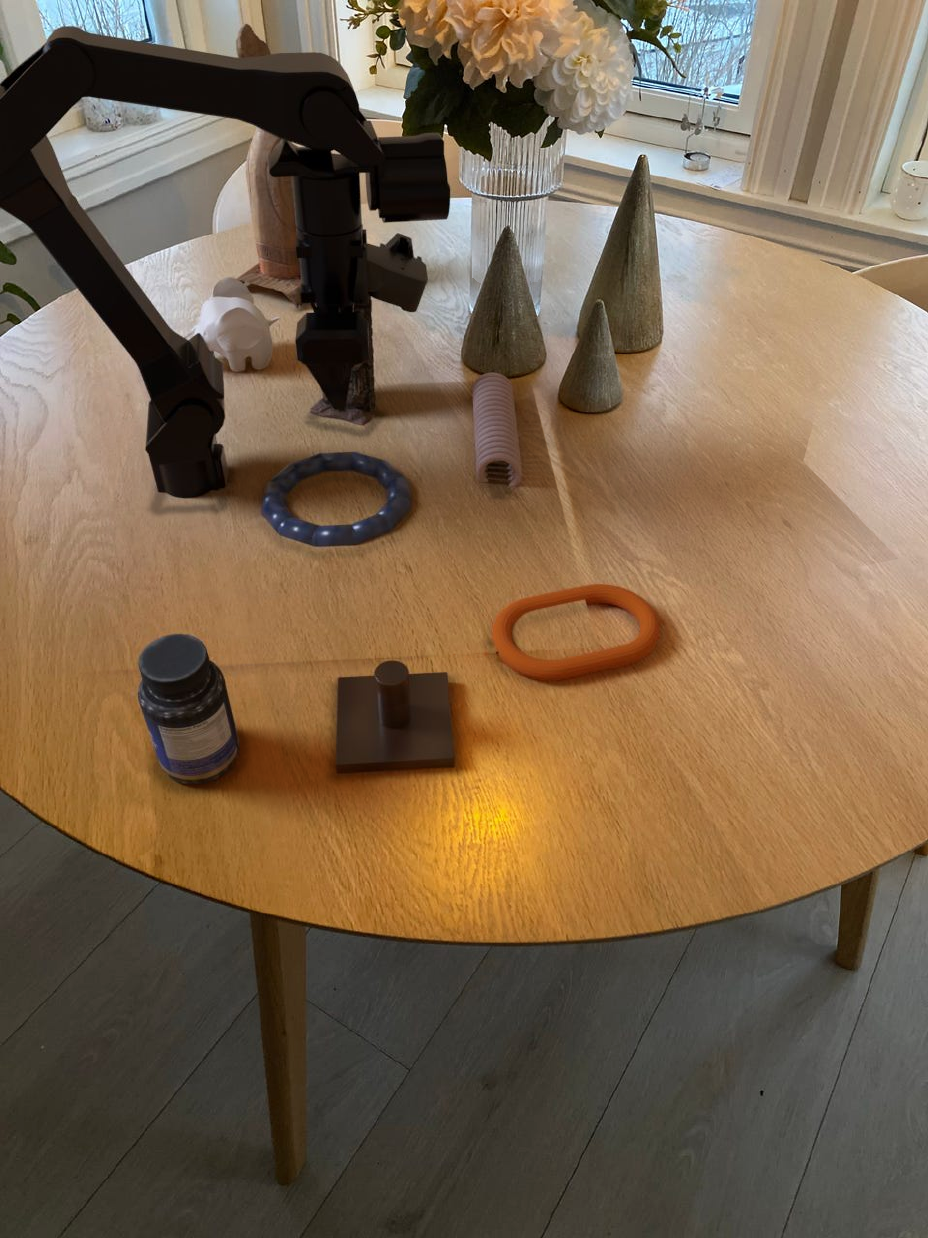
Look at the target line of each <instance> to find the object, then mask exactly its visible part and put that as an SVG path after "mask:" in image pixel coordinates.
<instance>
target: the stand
mask: <svg viewBox="0 0 928 1238" xmlns="http://www.w3.org/2000/svg"><path fill="white" fill-rule="evenodd" d="M373 674H374V675H359V676H339V677H337V692H336V693H337V695H336V696H337V698H336V699H337V702H336V736H335V737H336V738H335V740H336V741H335V769H336V774H337V775H341V774H357V773H376V772H377V773H379V772H393V771H394V772H395V771H411V770H412V771H413V770H431V769H447V768H448V769H449V768H451V769H452V768H455V767H456V756H455V755H456V753H455V743H454V742H455V741H454V732H453V721H452V710H451V699H450V698H451V697H450V687H449V677H448V675H449V674H448V671H442V672H421V673H410V672H409V668H408V666H407V665H406V664H405V663H404V662H402V661H399V660H392V659H391V660H385V661H383V662H381V663H379V664H378V665H377V666H376V668H375V669H374V672H373Z"/></svg>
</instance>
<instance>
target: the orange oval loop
mask: <svg viewBox="0 0 928 1238" xmlns="http://www.w3.org/2000/svg"><path fill="white" fill-rule="evenodd" d="M583 600H585V605H591V604H607V605H613V606H616V607H619V608H621V609H623V610H625V611H626V612H628V613H630V614H631V615H632V616H633V617H634V618H635V619H636V621H637V623H638V625H639V632H638V635H637V636H636V638H635V639H633V640H631V641H630V642H628V643H624V644H621V645H618V646H613V647H609V648H605V649H599V650H596V651H591V652H586V653H582V654H578V655H573V656H569V657H568V656H567V657H564V658H563V657H562V658H558V659H557V658H556V659H543V658H538V657H534V656H531V655H529V654H527V653H525V652H523V651H522V650H520V649H519V648H518V647H517V646H516V644H515V643H514V642H513V639H512V636H511V635H512V634H511V632H512V631H511V630H512V627H513V624H514V623H515V622H516V620H517V619H518V618H519V617H521V616H522V615H524V614H526V613H529V612H532V611H536V610H541V609H546V608H549V607H554V606H558V605H563V604H568V603H574V602H578V601H583ZM660 631H661V629H660V621H659V618H658V615H657V613H656V612H655V609H653V607H652V606H651V605H650V604H649V602H648V601H647V600H645V599H644V598H643V597H642V596H640V595H639V594H637V593H635V592H634V591H632V590H629V589H627V588H625V587H621V586H618V585H613V584H607V583H606V584H605V583H593V584H586V585H581V586H576V587H570V588H566V589H561V590H556V591H550V592H547V593H541V594H537V595H536V594H535V595H532V596H528V597H523V598H520V599H518V600H515V601H513V602H511V603H510V604H508V605H507V606H506V607H504V608H503V609H502V610H501V611H500V612H499V613H498V615H497V616H496V617H495V619H494V622H493V625H492V628H491V637H492V642H493V645H494V646H495V648H496V651H495V654H496V655H497V657H498V658H499V659H500V661H502V662H503V664H505V665H506V666H507V667H508V668H510V669H511V670H512V671H514V672H516V673H517V674H520V675H522V676H525V677H527V678H531V679H534V680H538V681H539V680H540V681H561V680H566V679H571V678H576V677H581V676H584V675H588V674H594V673H599V672H602V671H606V670H611V669H616V668H619V667H623V666H627V665H631V664H634V663H636V662H638V661H640V660H642V659H644V658H645V657H647V656H648V655H649V654H651V652H652V651H653V650H654V648H655V647H656V645H657V643H658V641H659V638H660V634H661V633H660Z"/></svg>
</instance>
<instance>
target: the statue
mask: <svg viewBox="0 0 928 1238" xmlns="http://www.w3.org/2000/svg"><path fill="white" fill-rule="evenodd" d="M368 297H369V305H358V306H357V307H356V308H355V309H354V312H358V313H359V314H360V315H361V316H362V317H363V318H364V319H366V320H367V321H368V330H369V360H367V361H365V362H364V363H362V364H357V365H356V366H354V367H353V369H352V373H351V379H350V385H349V391H348V397H347V403H346V408H345V409H344V410H335V409H333V407H332V405H331V404H330V402H329V400H328V399H327V397H326V396H325V394H324V392H323V391H322V389H321V388H320V390H321V393H322V397H321V398H320V399H319V400H318V401H317V402H316V403H315V404H314V405H312V407H311V408H309V411H308V412H309V413H310V414H311V415H314V416H318V417H322V418H325V419H334V420H340V421H344V422H348V423H352V424H354V425H357V426H364V425H365V424H366V423H367V421H368V420H369V419H370V418H371V416H372V415H373V414H374V412H376V411H377V410H376V409H378V404H377V402H376V401H377V396H376V392H375V390H376V389H375V383H376V382H375V381H376V380H375V365H374V363H375V358H374V353H375V351H374V345H373V343H374V342H373V341H374V339H373V335H374V333H373V332H374V331H373V330H374V329H373V317H372V311H373V301H372V296H370V295H369V294H368Z"/></svg>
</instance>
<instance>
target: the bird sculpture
mask: <svg viewBox="0 0 928 1238" xmlns="http://www.w3.org/2000/svg"><path fill="white" fill-rule="evenodd" d="M235 51H236V56H237V58H251V57H259V56H265V55H271V54H272V53H271V50H270V48H269V46H268V44H267V42H265V41H264V40H262V39H260V37H259V36H258V35H256V33H255V30H254V29H253V28H252V26H251V25H250V24H248V23H243V25H242V26H241V27H240V29H238V31H237V37H236V40H235ZM280 142H281V138H278V137H276V136H274V135H272V134H270V133H268V132H266V131H264V130H262V129H260V128H258V127H256V129H255V132H254V134H253V137H252V140H251V143H250V145H249V149H248V153H247V156H246V162H245V179H246V181H245V182H246V188H247V195H248V201H249V208H250V214H251V223H252V229H253V234H254V235H253V236H254V240H255V247H256V252H257V256H258V257H257V259H258V262H257V263H256V264H255V265H254V266H252V267H251V268H249V269H248V270H246V271H245V272H243V273H242V274H241V275H239V276H238V277H237V278H235V279H237V280H239V281H240V282H241V283H243V284H244V285H245V283H249V284H253V285H256V286H259V287H263V288H267V289H273V290H274V291H277V292H281V293H283V294H284V295H285V296H286V297H287V299H289V300H290V301H291V302H292V303H293V304H294V306H295V308H296V309H297V310H299V306H300V307H301V308H302V307H304V306H303V305H304V303H301V295H300V290H301V283H302V281H301V271H300V261H299V258H297V254H296V241H297V229H296V219H295V208H294V198H293V187H292V177H291V176H290V177H272V176H271V175H270V173H269V168H268V161H267V157H268V155H270V154H271V153H272V152H273V151H274V150H275V149H276V148H277V147H278V146H279V144H280Z"/></svg>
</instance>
